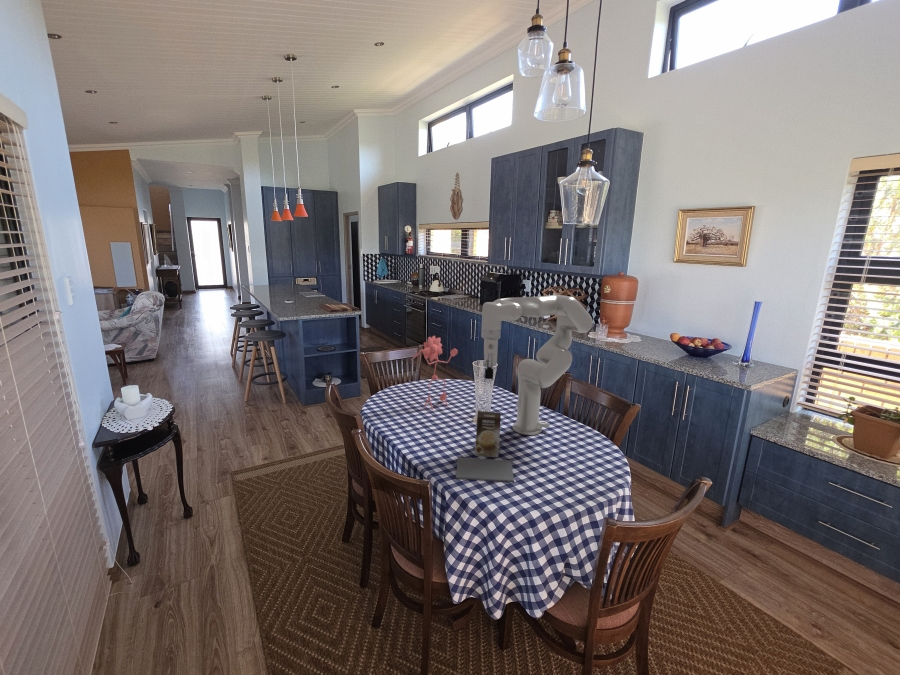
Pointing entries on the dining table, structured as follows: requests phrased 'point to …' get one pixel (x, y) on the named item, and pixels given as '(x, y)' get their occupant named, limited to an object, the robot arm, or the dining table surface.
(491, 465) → the mat
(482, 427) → the coffee box
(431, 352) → the pink stick figure toy
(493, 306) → the robot arm
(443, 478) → the dining table surface
